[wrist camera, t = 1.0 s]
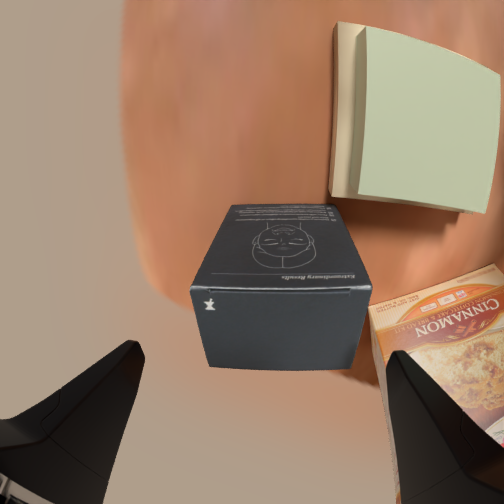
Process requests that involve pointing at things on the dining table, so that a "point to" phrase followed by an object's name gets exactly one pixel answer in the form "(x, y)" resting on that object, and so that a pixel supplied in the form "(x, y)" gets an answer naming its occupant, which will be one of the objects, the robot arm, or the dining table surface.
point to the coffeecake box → (449, 345)
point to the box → (281, 290)
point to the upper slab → (423, 123)
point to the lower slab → (352, 118)
